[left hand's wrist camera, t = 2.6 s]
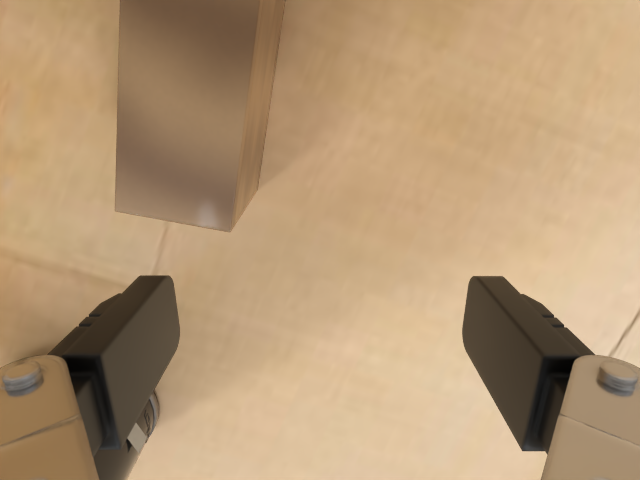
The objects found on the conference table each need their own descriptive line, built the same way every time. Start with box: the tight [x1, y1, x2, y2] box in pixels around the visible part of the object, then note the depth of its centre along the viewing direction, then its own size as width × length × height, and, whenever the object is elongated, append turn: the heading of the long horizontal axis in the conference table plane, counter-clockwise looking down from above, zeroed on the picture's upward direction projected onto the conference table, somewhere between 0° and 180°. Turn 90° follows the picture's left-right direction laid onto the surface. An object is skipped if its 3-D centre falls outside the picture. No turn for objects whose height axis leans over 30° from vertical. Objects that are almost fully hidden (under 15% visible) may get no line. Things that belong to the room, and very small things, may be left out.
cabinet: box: [115, 0, 285, 232], centre depth 20 cm, size 19×6×9 cm, turn 169°
